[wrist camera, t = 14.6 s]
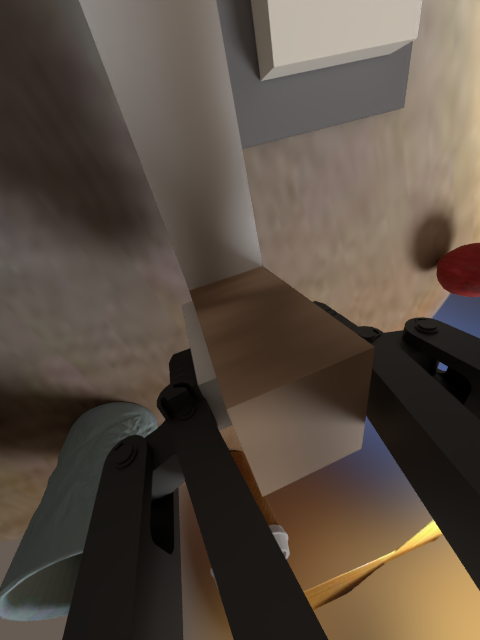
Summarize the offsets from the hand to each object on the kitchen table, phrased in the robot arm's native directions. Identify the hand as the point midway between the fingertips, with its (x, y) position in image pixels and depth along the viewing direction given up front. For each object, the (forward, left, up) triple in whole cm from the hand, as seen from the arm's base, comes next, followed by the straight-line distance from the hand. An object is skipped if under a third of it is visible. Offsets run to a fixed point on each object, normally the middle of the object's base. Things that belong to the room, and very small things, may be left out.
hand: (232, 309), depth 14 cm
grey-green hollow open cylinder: (-15, -14, -8) cm, 22 cm away
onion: (+28, -8, -8) cm, 30 cm away
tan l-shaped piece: (0, +7, 0) cm, 7 cm away
